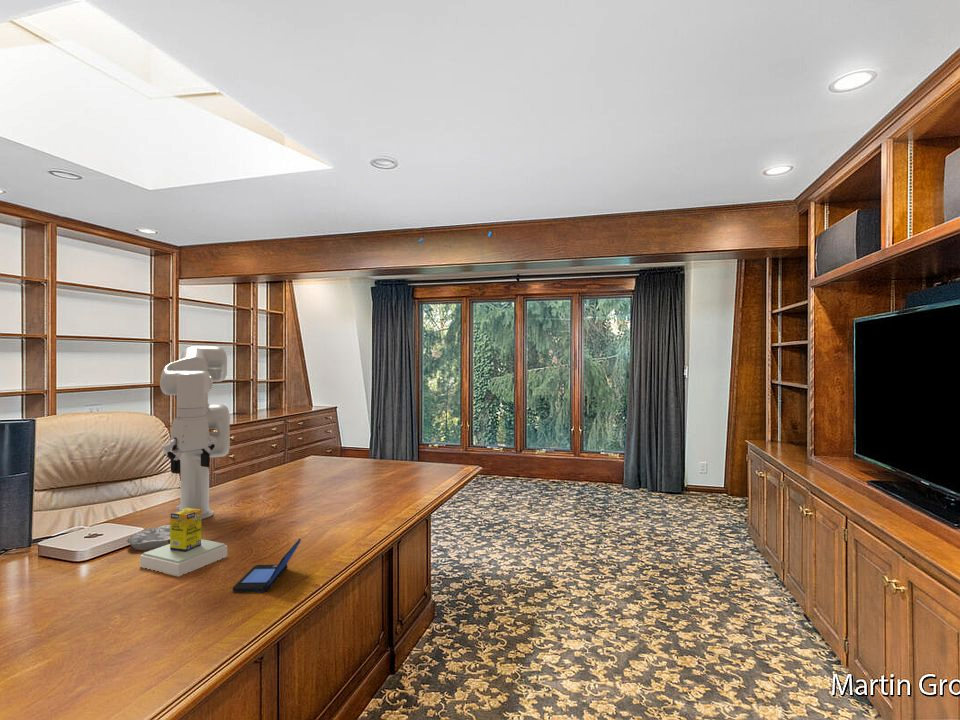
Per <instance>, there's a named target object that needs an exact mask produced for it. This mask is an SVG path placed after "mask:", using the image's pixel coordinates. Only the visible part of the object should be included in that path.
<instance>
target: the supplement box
mask: <svg viewBox="0 0 960 720" xmlns="http://www.w3.org/2000/svg"><path fill="white" fill-rule="evenodd" d="M201 513H202V510H201V509H193V508H185V509H183V510H179V509H178V510H177V511H173V512H171V513H170V515H169V517H170V524H169V525H170V550H175V551H183V552H186V551H188V550H191V549H193V548H195V547H198V546H201V539H202V519H201Z"/></svg>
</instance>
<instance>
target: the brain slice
mask: <svg viewBox="0 0 960 720" xmlns="http://www.w3.org/2000/svg"><path fill="white" fill-rule="evenodd" d="M140 531H141V532H140ZM140 531H137V532H138V533H137V532H135V533H134V534H133V535H131V536H130V537H129V538H127V543H129V545H130V546H131V547H132V548H133V549H134V550H136V551H142V550H143V551H148V550H147V549H149V550H154V549H155V548H159V547H162V546H165V545H168V544H170V524H167V525H166V524H165V525H160V526H157V527H149V528H145V529H142V530H140Z"/></svg>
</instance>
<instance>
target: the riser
mask: <svg viewBox="0 0 960 720" xmlns="http://www.w3.org/2000/svg"><path fill="white" fill-rule="evenodd" d="M227 557H228V545H227V544H225V543H223V542H218V541H213V540H208V539H204V538H201V546H198V547H195V548H193V549H191V550H188V551H186V552H183V551H175V550H170V544H168V545H165V546H162V547H159V548H156V549H150V550H147V551H144V552H143V553H142V554H140V555H139V561H140V562H139V564H140V565H139V566H140V568H141V567H142V569H145V568H147V569H146V570H149V569H151V570H150V571H153V570H155V571H154V572H157V571H159V572H158V573H161V572H163V573H162V574H166V575H169V576H174V577H177V578H179V577H181V576H184V575H185V574H188V572H189V573H191V572H193V571H195V570H198V569H200V568H203V567H205V565H206V566H208V565H210V564H212V563H215V562H218V561H220V560H223V559H225V558H227ZM222 558H223V559H222ZM217 560H218V561H217ZM183 574H184V575H183Z"/></svg>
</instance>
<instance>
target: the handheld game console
mask: <svg viewBox="0 0 960 720" xmlns="http://www.w3.org/2000/svg"><path fill="white" fill-rule="evenodd" d="M301 541H302V539H301V538H299V539H298V540H296V542H295V543H294V545H292V546H291V548H290V549H289V550H288V551H287V552H286V553H285V554H284V556H283V557H282V558H281V560H280V561H279V563H278V564H257V565H254V566H253V567H252V568H250V570H249V571H248V572H247V573H246V574H245V575H244V576H242V578H240V580H239V581H238V582H236V583H235V585H234V586H233V587H232V592H233V593H235V592H249V593H250V592H257V593H264V592H267V593H268V592H269V591H270V590H271V588H272V587H273V586H274V585H273V584H275V583H276V581H277V580H278V579H279V578H281V576H282V575H283V574H284V573H285V572H286V571H287V570H288V563H289V561H290V560H291V558H292V556H293V555H294V554H295V553H294V552H296V550H297V548H298V546H299V545H300V543H301ZM285 570H286V571H285ZM283 572H284V573H283ZM278 577H279V578H278ZM277 578H278V579H277ZM272 585H273V586H272ZM271 586H272V587H271Z"/></svg>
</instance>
